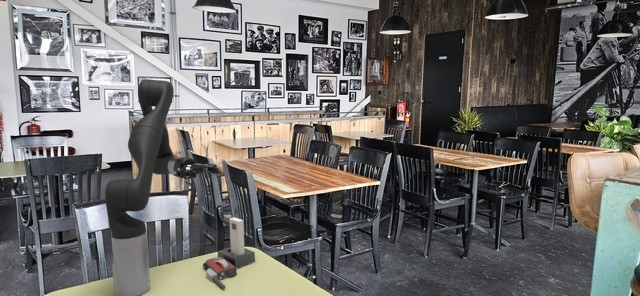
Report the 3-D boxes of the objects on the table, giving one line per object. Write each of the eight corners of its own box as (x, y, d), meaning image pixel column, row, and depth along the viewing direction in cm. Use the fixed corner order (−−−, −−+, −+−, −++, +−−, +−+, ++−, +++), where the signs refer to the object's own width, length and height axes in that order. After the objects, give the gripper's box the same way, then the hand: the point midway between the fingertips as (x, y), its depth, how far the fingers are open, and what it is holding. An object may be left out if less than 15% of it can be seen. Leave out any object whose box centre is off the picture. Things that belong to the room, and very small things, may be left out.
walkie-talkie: (196, 269, 143) (221, 292, 126) (196, 257, 142) (220, 278, 126) (222, 263, 148) (248, 284, 132) (221, 250, 147) (248, 270, 131)
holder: (218, 261, 148) (217, 251, 148) (237, 254, 154) (237, 244, 154) (235, 269, 142) (234, 259, 141) (255, 261, 147) (254, 252, 147)
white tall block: (231, 261, 148) (229, 218, 146) (236, 259, 150) (234, 217, 147) (239, 265, 145) (237, 221, 142) (245, 263, 146) (243, 220, 144)
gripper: (163, 159, 153) (187, 165, 142) (199, 154, 163) (224, 159, 152) (164, 180, 154) (188, 187, 143) (200, 174, 164) (225, 180, 153)
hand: (206, 172), depth 147 cm, fingers open, 8 cm apart
